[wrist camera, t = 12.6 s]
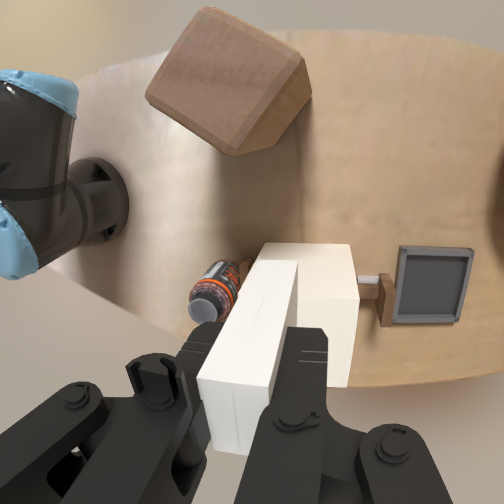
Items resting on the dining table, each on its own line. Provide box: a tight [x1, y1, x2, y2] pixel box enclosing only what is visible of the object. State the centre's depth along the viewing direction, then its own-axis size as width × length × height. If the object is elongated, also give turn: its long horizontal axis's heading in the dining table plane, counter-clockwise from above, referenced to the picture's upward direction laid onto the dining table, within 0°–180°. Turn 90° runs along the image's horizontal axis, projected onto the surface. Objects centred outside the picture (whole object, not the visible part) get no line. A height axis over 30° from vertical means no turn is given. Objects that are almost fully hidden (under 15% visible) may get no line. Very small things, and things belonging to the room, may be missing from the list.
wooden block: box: [145, 7, 312, 156], centre depth 30 cm, size 10×10×20 cm
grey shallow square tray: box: [392, 246, 474, 323], centre depth 42 cm, size 12×12×2 cm
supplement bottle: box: [188, 260, 241, 325], centre depth 45 cm, size 6×6×11 cm
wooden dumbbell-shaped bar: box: [239, 258, 397, 327], centre depth 43 cm, size 21×7×8 cm, turn 93°
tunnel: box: [238, 242, 379, 387], centre depth 39 cm, size 18×12×16 cm
